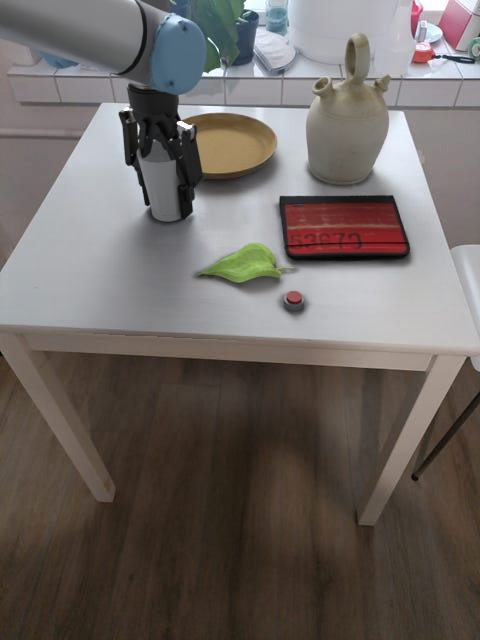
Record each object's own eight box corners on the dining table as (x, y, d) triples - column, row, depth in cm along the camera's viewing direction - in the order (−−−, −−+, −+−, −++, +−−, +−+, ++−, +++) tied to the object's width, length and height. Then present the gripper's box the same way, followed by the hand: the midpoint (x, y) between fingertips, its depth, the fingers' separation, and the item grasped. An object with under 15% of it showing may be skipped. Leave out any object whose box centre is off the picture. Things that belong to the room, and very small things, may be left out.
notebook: (279, 194, 89) (394, 193, 89) (278, 204, 91) (390, 203, 91) (286, 254, 79) (415, 253, 79) (285, 265, 81) (411, 263, 81)
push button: (284, 310, 73) (285, 303, 72) (282, 296, 75) (283, 289, 74) (304, 309, 73) (305, 303, 72) (302, 295, 75) (303, 288, 74)
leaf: (296, 285, 77) (297, 275, 75) (197, 287, 77) (196, 278, 75) (291, 248, 83) (292, 239, 81) (198, 250, 82) (198, 241, 81)
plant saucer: (271, 190, 94) (272, 175, 92) (149, 182, 96) (147, 167, 94) (280, 129, 110) (281, 115, 107) (175, 123, 112) (173, 109, 109)
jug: (298, 187, 95) (312, 48, 76) (304, 147, 105) (317, 15, 86) (378, 194, 93) (413, 54, 74) (376, 152, 103) (406, 20, 84)
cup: (189, 224, 87) (183, 163, 78) (144, 224, 87) (133, 163, 78) (192, 198, 92) (187, 138, 83) (150, 198, 92) (140, 138, 83)
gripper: (223, 84, 71) (226, 214, 88) (114, 57, 78) (137, 182, 95) (194, 104, 66) (204, 237, 84) (81, 74, 73) (112, 202, 90)
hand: (168, 208), depth 89 cm, fingers closed on cup, 7 cm apart
